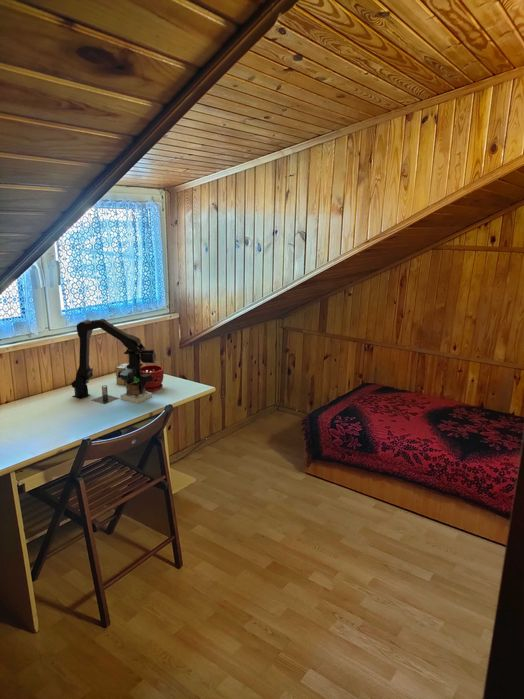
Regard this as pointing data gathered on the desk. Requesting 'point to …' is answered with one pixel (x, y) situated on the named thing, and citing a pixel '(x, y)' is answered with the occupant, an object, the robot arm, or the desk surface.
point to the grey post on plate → (105, 396)
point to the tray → (136, 397)
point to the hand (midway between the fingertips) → (136, 391)
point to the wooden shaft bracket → (134, 389)
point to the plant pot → (157, 377)
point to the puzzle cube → (119, 380)
